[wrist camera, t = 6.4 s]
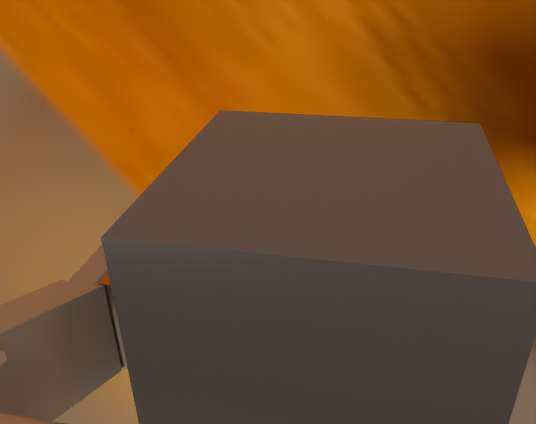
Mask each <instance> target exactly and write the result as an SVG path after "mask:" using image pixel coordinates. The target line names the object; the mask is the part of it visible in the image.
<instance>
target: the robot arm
mask: <svg viewBox="0 0 536 424" xmlns="http://www.w3.org/2000/svg"><path fill="white" fill-rule="evenodd" d="M122 368H127V369H128V367H127V362H126V357H125V352H124V347H123V343H122V338H121V333H120V328H119V323H118V318H117V313H116V308H115V303H114V298H113V294H112V289H111V284H110V279H109V274H108V269H107V264H106V259H105V254H104V249H103V245H101V246H100V247H99V248H98V250H97V251H96V252H95V253H94V254H93V255H92V256H91V257H90V258H89V259H88V260H87V261H86V263H85V264H84V265H83V266H82V267H81V268H80V269H79V270H78V271H77V272H76V273H75V274H74V275H73V276H72V278H71V279H70V280H69V281H64V280H60V281H57V282H55V283H52V284H50V285H48V286H45V287H43V288H40V289H38V290H35V291H33V292H31V293H28V294H26V295H23V296H21V297H19V298H16V299H14V300H12V301H9V302H7V303H4V304H2V305H0V424H64V423H58V422H53V420H55V419H56V418H58V417H59V416H60V415H62V414H63V413H64V412H66V411H67V410H68V409H70V408H71V407H73V406H74V405H75V404H77V403H78V402H79V401H81V400H82V399H83V398H85V397H86V396H88V395H89V394H90V393H92V392H93V391H94V390H96V389H97V388H98V387H100V386H101V385H103V384H104V383H105V382H107V381H108V380H109V379H111V378H112V377H113V376H115V375H116V374H118V373H119V372H120V371H121V370H122ZM509 424H536V336H535V339H534V342H533V345H532V349H531V352H530V355H529V359H528V362H527V365H526V368H525V372H524V375H523V378H522V381H521V385H520V388H519V391H518V395H517V398H516V401H515V404H514V408H513V411H512V414H511V418H510V421H509Z"/></svg>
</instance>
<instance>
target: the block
mask: <svg viewBox="0 0 536 424" xmlns="http://www.w3.org/2000/svg"><path fill="white" fill-rule="evenodd" d="M101 240H102V245H103V249H104V254H105V259H106V264H107V269H108V274H109V279H110V284H111V289H112V294H113V298H114V303H115V308H116V313H117V318H118V323H119V328H120V333H121V338H122V343H123V347H124V352H125V357H126V362H127V367H128V371H129V377H130V382H131V386H132V391H133V396H134V401H135V406H136V411H137V416H138V421H139V424H509V421H510V418H511V414H512V411H513V408H514V404H515V401H516V398H517V395H518V391H519V388H520V385H521V381H522V378H523V375H524V372H525V368H526V365H527V362H528V359H529V355H530V352H531V349H532V345H533V342H534V339H535V336H536V248H535V245H534V243H533V241H532V239H531V236H530V234H529V232H528V230H527V227H526V225H525V223H524V221H523V218H522V216H521V214H520V212H519V209H518V207H517V205H516V203H515V200H514V198H513V196H512V194H511V191H510V189H509V187H508V185H507V182H506V180H505V178H504V176H503V173H502V171H501V169H500V167H499V164H498V162H497V160H496V158H495V155H494V153H493V151H492V149H491V146H490V144H489V142H488V140H487V137H486V135H485V133H484V131H483V128H482V126H481V124H480V123H468V122H448V121H427V120H407V119H386V118H366V117H345V116H324V115H304V114H283V113H263V112H242V111H222V110H220V111H219V112H218V113H217V114H216V116H215V117H214V118H213V119H212V120H211V121H210V122H209V123H208V124H207V125H206V126H205V127H204V128H203V129H202V130H201V131H200V133H199V134H198V135H197V136H196V137H195V138H194V139H193V140H192V141H191V142H190V143H189V144H188V145H187V146H186V147H185V149H184V150H183V151H182V152H181V153H180V154H179V155H178V156H177V157H176V158H175V159H174V160H173V161H172V162H171V163H170V164H169V166H168V167H167V168H166V169H165V170H164V171H163V172H162V173H161V174H160V175H159V176H158V177H157V178H156V179H155V180H154V181H153V183H152V184H151V185H150V186H149V187H148V188H147V189H146V190H145V191H144V192H143V193H142V194H141V195H140V196H139V197H138V199H137V200H136V201H135V202H134V203H133V204H132V205H131V206H130V207H129V208H128V209H127V210H126V211H125V212H124V213H123V214H122V216H121V217H120V218H119V219H118V220H117V221H116V222H115V223H114V224H113V225H112V226H111V227H110V228H109V229H108V230H107V231H106V233H105V234H104V235H103V236H102V237H101Z"/></svg>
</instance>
